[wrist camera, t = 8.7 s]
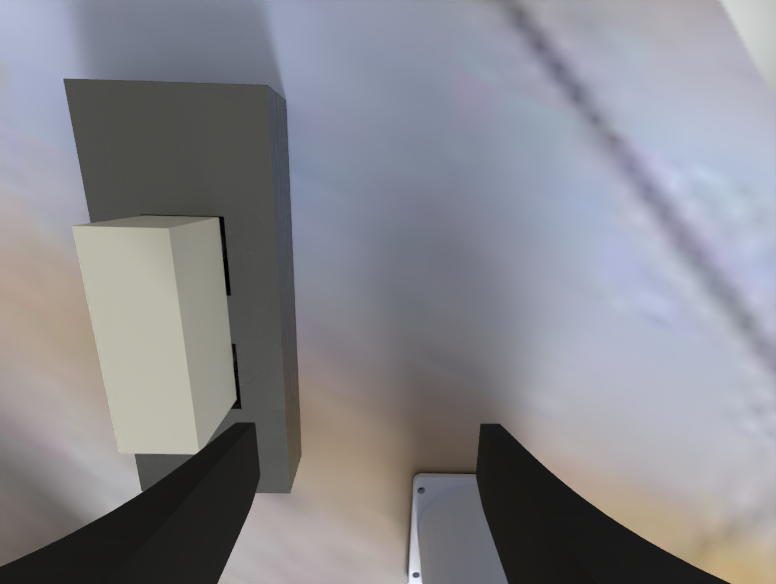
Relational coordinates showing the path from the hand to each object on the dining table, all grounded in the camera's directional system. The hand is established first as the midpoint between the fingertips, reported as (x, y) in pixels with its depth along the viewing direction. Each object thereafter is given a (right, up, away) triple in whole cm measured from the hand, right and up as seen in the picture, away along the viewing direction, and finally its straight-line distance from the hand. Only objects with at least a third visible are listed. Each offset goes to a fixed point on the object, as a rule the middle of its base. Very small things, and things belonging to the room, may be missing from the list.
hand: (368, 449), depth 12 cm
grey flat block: (-8, +5, +9) cm, 13 cm away
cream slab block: (-8, +5, +9) cm, 13 cm away
